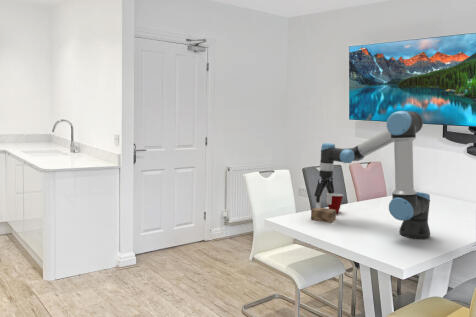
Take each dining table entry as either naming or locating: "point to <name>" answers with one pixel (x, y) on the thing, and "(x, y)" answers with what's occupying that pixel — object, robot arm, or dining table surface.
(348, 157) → the robot arm
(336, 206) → the plastic cup
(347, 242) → the dining table surface
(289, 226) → the dining table surface
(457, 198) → the dining table surface
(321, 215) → the brown wooden block
